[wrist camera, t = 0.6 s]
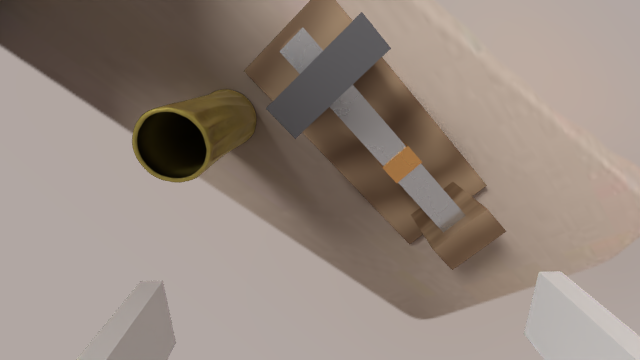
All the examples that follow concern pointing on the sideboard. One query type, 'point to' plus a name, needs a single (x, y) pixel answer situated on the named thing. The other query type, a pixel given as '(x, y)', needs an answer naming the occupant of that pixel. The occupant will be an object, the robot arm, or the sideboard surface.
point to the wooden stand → (405, 121)
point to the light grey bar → (381, 141)
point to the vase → (192, 134)
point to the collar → (329, 75)
